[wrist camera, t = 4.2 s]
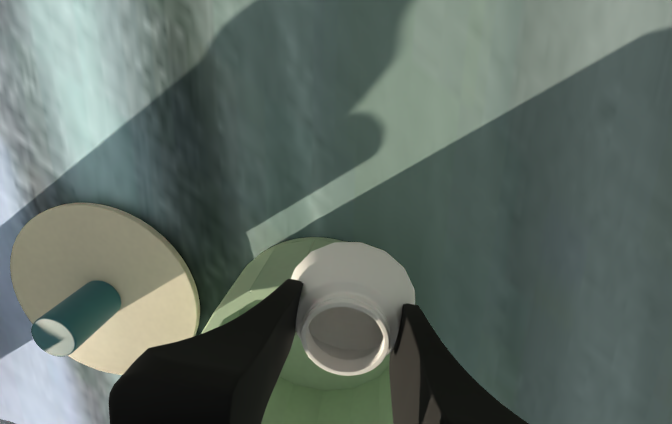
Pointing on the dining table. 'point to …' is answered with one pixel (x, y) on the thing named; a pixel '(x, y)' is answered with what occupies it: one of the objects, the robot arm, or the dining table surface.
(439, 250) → the dining table surface
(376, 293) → the lidless jar
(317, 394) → the tub
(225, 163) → the dining table surface
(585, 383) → the dining table surface
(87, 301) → the tub lid
